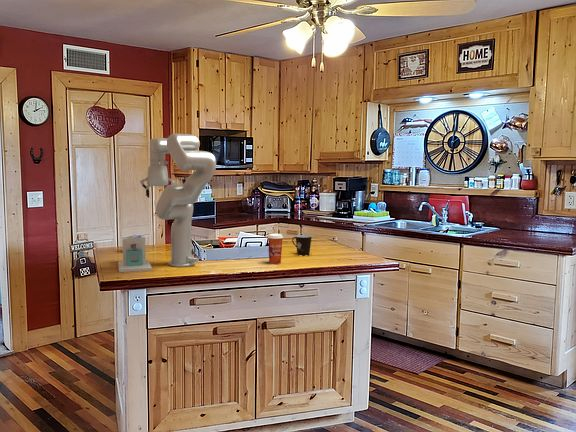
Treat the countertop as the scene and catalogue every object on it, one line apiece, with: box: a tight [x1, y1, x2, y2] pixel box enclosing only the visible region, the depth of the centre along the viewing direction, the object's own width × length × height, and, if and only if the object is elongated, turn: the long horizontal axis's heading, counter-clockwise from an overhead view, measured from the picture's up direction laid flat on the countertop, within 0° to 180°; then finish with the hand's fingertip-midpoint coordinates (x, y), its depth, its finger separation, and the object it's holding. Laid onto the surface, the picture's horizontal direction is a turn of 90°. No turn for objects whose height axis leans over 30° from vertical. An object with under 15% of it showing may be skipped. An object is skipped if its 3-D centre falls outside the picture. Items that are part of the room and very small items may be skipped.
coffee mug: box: [291, 234, 313, 257], centre depth 281 cm, size 12×9×10 cm
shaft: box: [131, 237, 137, 251], centre depth 247 cm, size 20×3×4 cm, turn 19°
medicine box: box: [126, 234, 142, 249], centre depth 281 cm, size 8×4×9 cm, turn 168°
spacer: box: [126, 250, 143, 266], centre depth 242 cm, size 2×7×7 cm, turn 109°
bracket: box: [117, 236, 153, 273], centre depth 243 cm, size 18×14×14 cm
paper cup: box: [267, 233, 284, 265], centre depth 258 cm, size 8×8×14 cm
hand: (158, 197), depth 267 cm, fingers open, 9 cm apart
